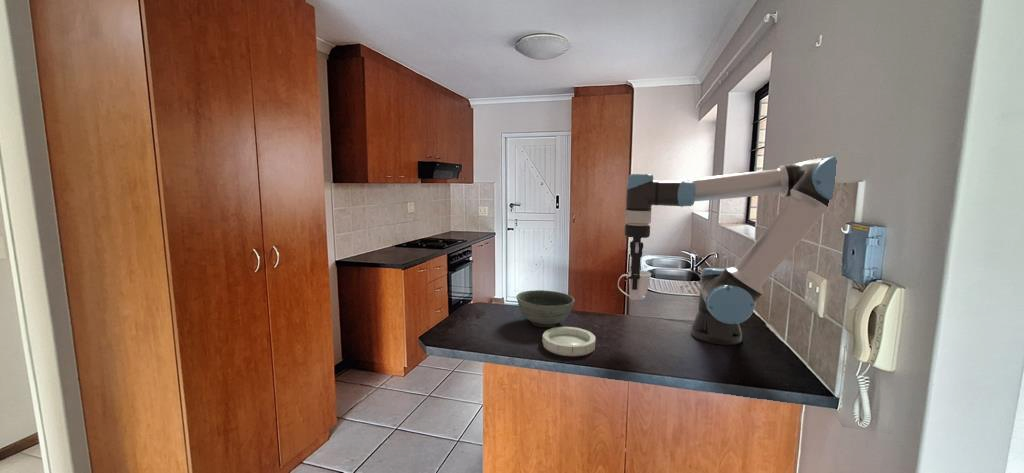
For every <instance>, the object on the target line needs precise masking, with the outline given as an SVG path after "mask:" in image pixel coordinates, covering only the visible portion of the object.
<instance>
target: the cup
mask: <svg viewBox="0 0 1024 473" xmlns="http://www.w3.org/2000/svg"><path fill="white" fill-rule="evenodd" d="M627 273H628V274H627ZM627 273H624V274H621V275H620V277H619V278H618V281H617V288H618V289H619V290H620V292H621V293H623V294H624V296H627V297H629V296H630V294H627V293H626V292H625V291H623V289H622V288H621V287H620V286H619V285H620V281H621V279H622V278H623V277H626V278H628V277H631V271H630V270H629V271H628V272H627ZM635 275H637V274H635ZM651 276H652V272H650V271H647V270H642V269H640V282H639V299H638V300H645V299H646V296H645V295H646V294H647V292H648V290H649V285H650V281H651ZM628 284H629V285H628V286H629V288H630V279H628Z"/></svg>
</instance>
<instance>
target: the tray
mask: <svg viewBox="0 0 1024 473" xmlns="http://www.w3.org/2000/svg"><path fill="white" fill-rule="evenodd" d="M596 337H597V336H595V334H593V333H592V332H591V331H589V330H587V329H583V328H580V327H576V326H575V327H573V326H553V327H550V328H549V329H547V330H545V331H544V332H543V334H542V345H543V348H544V349H545V350H547V351H548V352H550V353H551V354H552V353H553V354H555V355H559V356H562V357H563V356H564V357H581V356H587V355H589V354H591V353H593V352H594V351H595V349H596Z"/></svg>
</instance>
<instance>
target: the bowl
mask: <svg viewBox="0 0 1024 473" xmlns="http://www.w3.org/2000/svg"><path fill="white" fill-rule="evenodd" d="M516 301H517V303H518V308H519V310H520V312H521V314H522V315H523V317H524V318H525V319H527V320H528V321H530V323H531V324H532V325H533V326H537V327H540V328H554V327H556V326H557V325H558V323H560V322H563V321H564V320H566V319H567V317H569V315H570V313H571V311H572V308H573V306H574V303H575V301H576V300H575V298H574V297H573V296H571V295H570V294H567V293H564V292H559V291H553V290H544V289H543V290H541V289H539V290H526V291H522V292H521V291H520V292H519V293H517V294H516Z"/></svg>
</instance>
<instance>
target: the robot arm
mask: <svg viewBox="0 0 1024 473" xmlns="http://www.w3.org/2000/svg"><path fill="white" fill-rule="evenodd" d="M824 157H825V158H821V157H816V158H817V159H815V158H810V159H808V160H803V161H801V162H800V161H799V162H795V163H791V164H784V165H779V167H778V168H776V169H765V170H758V171H748V172H740V173H731V174H722V175H711V176H704V177H703V176H702V177H694V178H687V179H686V178H685V179H678V180H677V179H676V180H675V179H671V180H655V179H654V175H653V174H651V173H648V174H647V173H631V174H629V176H628V177H627V183H626V198H625V199H626V200H625V201H626V202H625V204H626V205H625V206H626V207H625V212H624V213H623V216H624V217H625V223H626V224H625V225H624V236H626V237H628V238H632V240H631V241H630V242H629V249H630V251H629V252H630V257H631V263H630V270H629V271H631V277H627V279H628V280H629V279H630V287H629V291H628V292H629V295H630V296H628V297H629V298H628V299H629V300H635V301H636V300H637V301H639V300H640V299H639V282H640V270H641V262H642V261H641V258H642V257H643V249H644V242H643V241H642V239H648V238H650V235H651V226H650V225H649V224H652V206H662V207H663V206H664V207H665V206H667V207H681V208H683V207H692V206H694V204H695V202H704V201H716V200H726V199H738V198H739V199H740V198H749V197H750V198H751V197H760V196H772V195H779V196H781V197H783V198H786V197H787V198H788V197H791V198H790V200H789V201H788V202H787V203H786V205H784V207H783V208H782V209H781V210H780V212H779V213H778V214H777V215H776V217H774V219H773V220H772V221H771V222H770V224H769V225H768V226H767V227H766V229H765V230H764V231H763V232H762V233H761V235H759V237H758V238H757V239H756V240H755V242H754V243H753V244H752V245H751V247H750V248H749V249H748V250H747V251H746V252H745V254H744V255H743V256H742V257H741V259H740V260H739V261H738V262H737V263H736V264H735V265H734V266H731V267H725V268H718V267H706V268H705V267H704V268H703V269H702V270H701V274H700V276H699V277H700V286H699V297H698V298H699V299H698V312H697V313H696V316H695V317H694V320H693V322H692V324H691V327H690V334H691V335H692V337H694V338H696V339H697V340H699V341H703V342H705V343H709V344H714V345H720V346H721V345H722V346H735V345H739V344H740V343H741V342H742V338H743V333H742V329H741V325H740V324H741V323H744V322H746V321H747V320H749V319H750V317H751V316H752V315H753V312H754V309H755V303H756V302H757V301H758V300H759V299H760V297H761V296H763V294H764V290H763V285H764V284H765V283H766V281H767V280H768V279H769V278H770V277H771V276H772V274H773V273H775V271H776V270H777V269H778V268H779V267H780V265H781V264H782V263H783V262H784V261H785V260H786V259H787V257H788V256H789V255H790V254H791V253H792V252H793V251H794V250H795V248H796V247H797V246H798V245H799V244H800V242H802V240H804V238H805V237H806V236H807V235H808V234H809V232H810V231H811V230H812V229H813V228H814V226H816V225H817V223H818V222H819V221H820V220H821V219H822V217H823V216H822V214H823V213H824V211H826V209H827V207H828V203H829V200H831V199H832V198H833V192H834V191H833V190H834V185H835V176H836V164H837V160H836V158H835V156H831V155H828V156H824ZM812 159H813V160H812ZM815 199H816V200H815ZM821 216H822V217H821ZM819 219H820V220H819ZM635 274H637V275H635Z"/></svg>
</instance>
